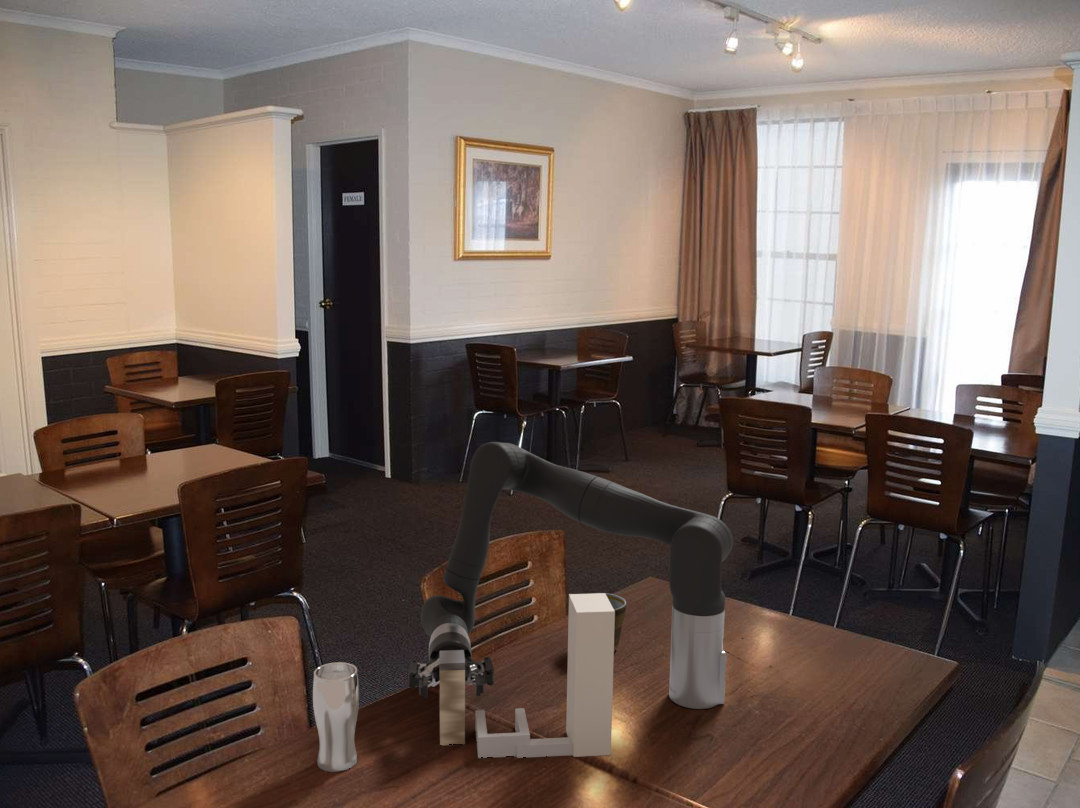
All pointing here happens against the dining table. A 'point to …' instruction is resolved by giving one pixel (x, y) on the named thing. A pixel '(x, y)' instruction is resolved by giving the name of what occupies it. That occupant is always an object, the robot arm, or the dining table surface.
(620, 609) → the ceramic cup
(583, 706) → the white socket stand
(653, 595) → the dining table surface
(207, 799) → the dining table surface
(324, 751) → the beer glass
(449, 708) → the rail end
